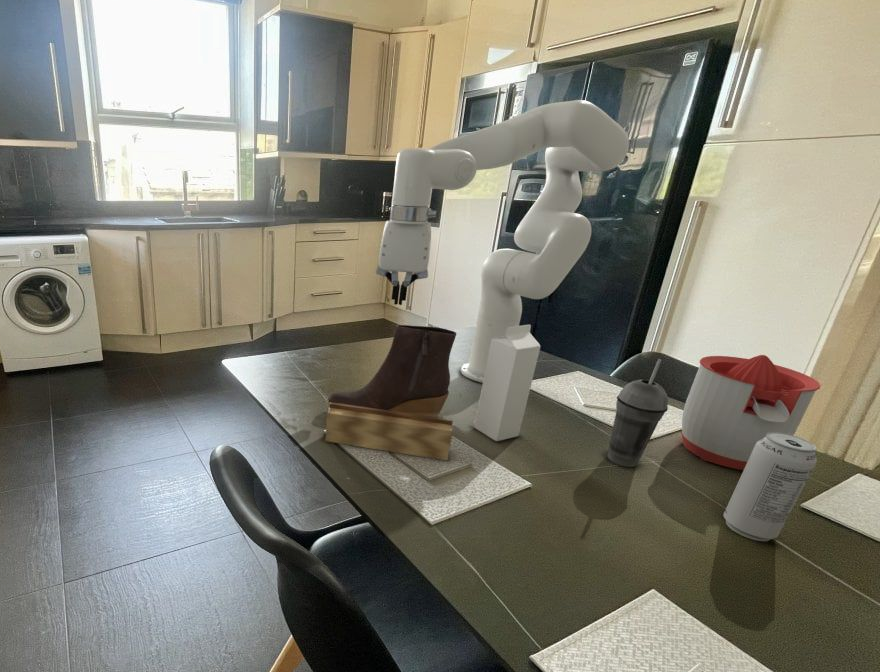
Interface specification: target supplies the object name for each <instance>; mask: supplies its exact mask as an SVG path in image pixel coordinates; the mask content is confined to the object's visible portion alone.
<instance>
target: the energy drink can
mask: <svg viewBox="0 0 880 672" xmlns="http://www.w3.org/2000/svg"><path fill="white" fill-rule="evenodd" d="M816 450H817V446H816V445H815V444H814V443H812V442H810V441H809V440H807V439H804V438H803V437H800V436H796V435H789V434H785V433H779V432H770V433H767V435H766V437H765V438H763V439H761V440H759V441H758V442H757V443H756V445H755V447H754V449H753V451H752V453H751V456H750V458H749V460H748V462H747V464H746V466H745V469H744V470H742V473H741V475H740V478H739V480H738V482H737V484H736V486H735V488H734V491H733V493H732V495H731V497H730V499H729V501H728V504H727V506H726V508H725V510H724V512H723V518H724V520H725V524H726V526H727V527H728V528H729V529H730V530H732V531H733V532H734V533H736V534H738V535H740V536H742V537H744V538H746V539H749V540H753V541H757V542H768V541H770V540H771V539H776V538H778V537H779V535H780V534H781V531H782V530H783V527H784V526H785V523H786V522H787V520H788V518H789V516H790V514H791V512H792V510H793V508H794V506H795V505H796V503H797V501H798V499H799V497H800V495H801V493H802V491H803V489H804V488H805V485H806V483H807V482H808V480H809V478H810V476H811V474H812V472H813V470H814V468H815V466H816V464H817V463H818V459H817V455H816V452H815V451H816Z"/></svg>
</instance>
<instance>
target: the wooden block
mask: <svg viewBox="0 0 880 672" xmlns="http://www.w3.org/2000/svg"><path fill="white" fill-rule="evenodd" d="M453 422H454V421H453V419H452V418H445V417H439V416H438V417H432V416H425V415H418V414H411V413H403V412H396V411H389V410H382V409H375V408H368V407H361V406H353V405H346V404H339V403H332V402H330V408H328V410H327V415H326V424H325V425H326V426H325V427H326V428H325V439H324V440H325V442H328V443H333V444H334V443H336V444H341V445H347V446H354V447H358V448H359V447H360V448H367V449H373V450H379V451H385V452H391V453H397V454H404V455H410V456H416V457H423V458H429V459H433V460H435V459H436V460H442V461H448V459H449V453H450V448H451V444H452V443H451V442H452V438H453V432H454V429H453Z"/></svg>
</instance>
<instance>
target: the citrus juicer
mask: <svg viewBox="0 0 880 672" xmlns="http://www.w3.org/2000/svg"><path fill="white" fill-rule="evenodd" d="M820 389H821V384H820V382H819V381H818V380H816V379H815V378H813V377H811V376H809V375H807V374H805V373H802V372H800V371H796V370H794V369H792V368H788V367H785V366H781V365H779V364H778V365H777V364H775V363H774V362H773V361H772V360H771V359H770V357H768V356H767V355H766V354H759V355H756V356H753V357H750V358H743V357H738V356H730V355H729V356H728V355H710V356H709V355H708V356H703V357H702V358H701V359H699V367H698V369H697V372H696V374H695V377H694V380H693V382H692V384H691V386H690V390H689V392H688V394H687V395H688V396H687V398H686V401H685V404H684V407H683V410H682V411H683V412H682V418H681V430H680V431H681V432H680V433H681V440H682V444H683V447H685V449H687V450H688V451H689V452H691V453H692V454H694V455H695V456H697V457H699V458H700V459H701V460H703V461H704V462H708V463H713V464H715V465H719V466H722V467H726V468H730V469H735V470H741V471H744V469H745V466H746V464H747V462H748V460H749V458H750V456H751V453H752V451H753V449H754V447H755V445H756V443H757V442H758V441H759V440H761V439H763V438H765V437H766V435H767V433H770V432H779V433H785V434H789V435H793V436H795V434H796V432H797V430H798V428H799V426H800V424H801V421H802V420H803V418H804V415H805V414H806V412H807V410H808V408H809V406H810V404H811V402H812V400H813V398H814V396H815V393H816V391H818V390H820Z"/></svg>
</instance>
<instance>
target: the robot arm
mask: <svg viewBox="0 0 880 672" xmlns="http://www.w3.org/2000/svg"><path fill="white" fill-rule="evenodd" d="M629 149H630V141H629V136H628V134H627V132H626V130H625V129H624V128H623V127H622V126H621V125H620V124H619V123H618V122H617V121H616V120H614V119H613V118H612V117H611V116H610V115H609V114H607V112H605V111H604V110H603V109H601V108H600V107H599V106H597V105H595V104H594V103H592V102H590V101H587V100H584V99H576V100H567V101H559V102H551V103H546V104H542V105H538V106H536V107H534V108H532V109H529V110H527V111H524V112H522V113H520V114H518V115H516V116H513V117H511V118H508V119H506V120H503V121H501V122H499V123H496V124H493V125H490V126H487V127H483V128H481V129H478V130H475V131H472V132H469V133H466V134H463V135H460V136H457V137H454V138H451V139H448V140H445V141H442V142H440V143H438V144H436V145H434V146H431V147H429V148H419V147H418V148H413V147H412V148H403V149H401V150H400V151H399V152H397V156H396V161H395V169H394V180H393V188H392V198H391V206H390V213H389V214H390V215H389V220H386V221H385V224H384V228H383V231H382V236H381V242H380V248H379V255H378V266H377V268H376V271H375V273H376V275H379V276H381V277H385V278H387V280H388V281H389V282H390V283H391V285H392V291H391V300H394V303H393V305H395V306H396V305H399V306H402V305H403V301H404V302H406V300H407V293H408V287H409V286H410V285H411V284H413V283H415V282H416V280H424V279H428V277H429V271H428V267H429V262H430V253H431V246H432V245H431V244H432V223H431V222H429V220H430V219H432V218H436V217H437V210H433V209H431V208H430V207H431V200H432V193H433V189H434V190H435V189H436V190H443V191H444V190H445V191H455V190H460V189H463V188H465V187H466V186H468V185H470V184H471V182H473V180H474V179H475V177H476V174H477V171H482V170H484V171H485V170H491V169H492V170H493V169H497V168H502V167H503V168H504V167H506V166H509V165H511V164H514V163H516V162H518V161H520V160H522V159H525V158H527V157H530V156H531V155H533V154H534V155H535V154H536V153H538V152H540V151H542V150H545V154H544V160H545V162H544V163H545V172H546V173H545V174H546V175H545V184H544V188H543V189H542V191H541V193H540V194H539V196H538V198H537V199H536V200H535V201H534V203H533V204H532V206H531V207H530V208H529V210H528V211H527V213H526V214H525V215H524V217H523V218H522V219H521V221H520V222H519V224H518V225H517V226H516V229H515V231H514V234H513V240H514V243H515V245H516V246H517V247H518V248H520V249H522V250H519V249H513V248H500V249H497V250H494V251H492V252H491V253H489V254H488V255H487V256H486V258H485V260H484V261H483V263H482V267H481V293H480V294H481V295H480V302H479V307H478V313H477V317H476V322H475V329H474V333H473V339H472V345H471V350H470V355H469V360H468V362H467V363H464V364H463V365H461V368H460V372H461V374H462V375H463V376H464V377H466V378H467V379H469V380H472V381H473V382H478V383H482V384H483V380H484V375H485V370H486V365H487V360H488V355H489V350H490V345H491V340H492V339H495V338H498V337H502V336H505V335H506V331H507V328H508V327H515V326H520V322H521V318H522V313H523V303H522V298H521V297H524V298H526V299H527V298H528V299H532V300H542V299H545V298H547V297H548V296H549V297H550V295H551V294H552V293H554V292H555V291H556V289H557V288H558V287H559V286H560V284H561V283H562V282H563V280H564V279H565V278H566V277H567V275H568V274H569V273H570V272H571V270H572V269H573V267H574V266H575V265H576V263H578V261H579V259H580V258H581V257H582V255H583V254H584V252H585V251H586V250H587V247H588V245H589V243H590V241H591V237H592V225H591V222H590V220H589V219H588V217H586V216H585V215H583V214H580V213H576V211H577V208H578V207H579V205H580V204H581V202H582V199H583V187H582V184H581V180H580V173H579V172H607V171H611V170H614V169H615V168H617V167H618V166H619V165H620V164H622V162H623V161H624V160H625V159H626V157H627V155H628V152H629ZM399 273H405V276H404V279H403V281H402V282H401V284H400V281H399Z"/></svg>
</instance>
